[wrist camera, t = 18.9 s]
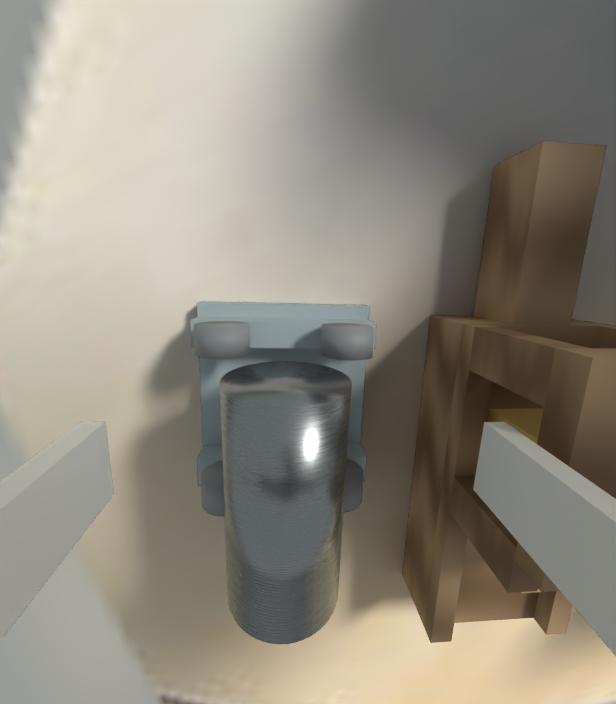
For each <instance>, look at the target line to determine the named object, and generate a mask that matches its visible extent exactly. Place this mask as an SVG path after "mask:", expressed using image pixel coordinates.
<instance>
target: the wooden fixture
mask: <svg viewBox="0 0 616 704" xmlns="http://www.w3.org/2000/svg"><path fill="white" fill-rule="evenodd" d="M605 150H606V145H593V144H579V143H565V142H551V141H542V142H540V143H538V144H536V145H534V146H532V147H530V148H528V149H526V150H524V151H522V152H520V153H518V154H516V155H514V156H512V157H510V158H508V159H506V160H505V161H503V162H501V163H499V164H497V165H495V166H494V170H493V177H492V184H491V192H490V199H489V206H488V213H487V221H486V228H485V235H484V242H483V250H482V257H481V264H480V272H479V279H478V286H477V293H476V301H475V308H474V315H473V316H446V315H430V325H429V334H428V343H427V352H426V361H425V370H424V379H423V389H422V398H421V407H420V416H419V425H418V434H417V444H416V453H415V462H414V471H413V480H412V489H411V498H410V508H409V517H408V526H407V535H406V544H405V553H404V562H403V572H402V575H403V577H404V579H405V582H406V584H407V587H408V589H409V591H410V594H411V596H412V599H413V601H414V603H415V606H416V608H417V611H418V613H419V615H420V618H421V620H422V623H423V625H424V628H425V630H426V632H427V635H428V637H429V640H430V642H431V643H434V642H448V641H451V639H452V633H453V626H454V623H458V622H473V621H488V620H503V619H518V618H534V619H535V620H536V621H537V623H538V624H539V625H540V627H541V628H542V629H543V631H544V632H545V633H546V634H560V633H565V632H566V628H567V624H568V620H569V616H570V612H571V608H572V604H571V603H570V602H569V601H568V600H567V599H566V597H565V596H564V595H563V594H562V593H561V592H560V590H559V589H558V588H557V587H556V586H555V584H554V583H553V582H552V581H551V580H550V579H549V577H548V576H547V575H546V574H545V573H544V572H543V570H542V569H541V568H540V567H539V566H538V565H537V563H536V562H535V561H534V560H533V559H532V558H531V556H530V555H529V554H528V553H527V552H526V551H525V549H524V548H523V547H522V546H521V545H520V544H519V542H518V541H517V540H516V539H515V538H514V537H513V535H512V534H511V533H510V532H509V531H508V529H507V528H506V527H505V526H504V525H503V524H502V522H501V521H500V520H499V519H498V518H497V517H496V515H495V514H494V513H493V512H492V511H491V510H490V508H489V507H488V506H487V505H486V504H485V503H484V501H483V500H482V499H481V498H480V497H479V496H478V494H477V493H476V492H475V491H474V490H473V487H474V481H475V475H476V469H477V463H478V457H479V451H480V445H481V439H482V433H483V427H484V422H487V420H488V414H489V409H523V408H544V410H543V415H542V420H541V425H540V430H539V436H538V441H537V445H539V446H540V447H542V448H543V449H544V450H546V451H547V452H549V453H550V454H552V455H553V456H555V457H556V458H557V459H559V460H560V461H562V462H563V463H565V464H566V465H568V466H569V467H570V468H572V469H573V470H575V471H576V472H578V473H579V474H581V475H582V476H583V477H585V478H586V479H588V480H589V481H591V482H592V483H593V484H595V485H596V486H598V487H599V488H601V489H602V490H604V491H605V492H606V493H608V494H609V495H611V496H612V497H614V498H615V499H616V326H614V325H607V324H600V323H594V322H587V321H580V320H574V319H571V318H572V313H573V308H574V303H575V298H576V293H577V288H578V283H579V278H580V274H581V269H582V264H583V259H584V254H585V249H586V244H587V239H588V234H589V229H590V224H591V219H592V214H593V209H594V204H595V199H596V194H597V189H598V184H599V180H600V175H601V170H602V165H603V160H604V155H605ZM538 589H539V590H540V591H541V592H532V591H537V590H538ZM521 592H532V593H521Z"/></svg>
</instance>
